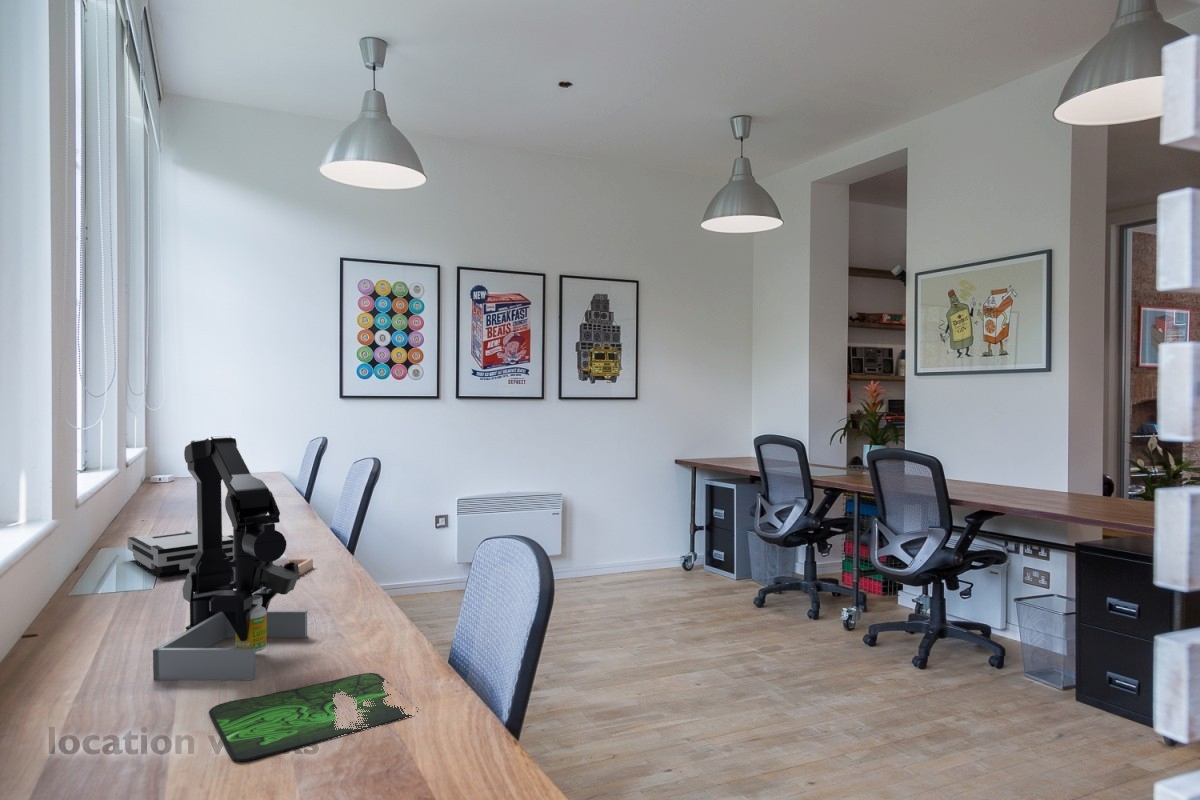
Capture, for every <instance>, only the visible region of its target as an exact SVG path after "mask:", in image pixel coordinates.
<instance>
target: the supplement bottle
mask: <svg viewBox="0 0 1200 800" xmlns="http://www.w3.org/2000/svg"><path fill="white" fill-rule="evenodd" d="M252 604H258V605H257V606H256V608H255V609H254V610H253V611H252V612H251V613H250V622H249V631H248V637H247V640H246V641H241V640H240V639H239V637H238V636H237V634H236V637H235V648H255V653H257V652H260V651H263V650H264V649H266V647H267V646H268V643H267V642H268V638H267V611H268V610H267V611H266V609H265V608H264V607H262V606H261V605H262V596H260V595H253V602H252Z"/></svg>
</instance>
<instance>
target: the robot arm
mask: <svg viewBox="0 0 1200 800" xmlns="http://www.w3.org/2000/svg"><path fill="white" fill-rule="evenodd" d="M183 454H184V456H183V457H184V460H185V463H186V464H187V471H188V472H189V473H190V474H191V476H192V478H193V479H194V480H195V482H196V512H197V513H196V514H197V529H198V551H197V553H196V554H195V556H194V557H193V559H192V561H191V562H190V568H189V569H188V571H189V572H188V573H187V575H186V578H185V581H184V583H183V586H182V596H183V599H184V600H185V601H186V602H189V625H187V626H185V631H187V630H189V629H191V628H192V627H194V626H196V625H198V624H199V623H201V622H203V621H205V620H206V619H208V618H210V617H212V616H214V615H215V614H217V613H219V612H223V613H224V615H225V616H226V618H227V619H228V620H229V622H230V624H231V625H232V627H233V629H234V630H235V632H236V634H237V636H238V637H239V639H240V640H241V641H246V640H247V637H248V631H249V622H250V613H251V612H252V611H253V610H254V609H255V608H256V606H257V605H258V604H252V602H253V595H260V596H262V605H261V606H262V607H264V608H265V609H266V611H269V610H268V609H269V606H270V604H271V602H272V600H273V599H274V598H275V597H276V596H277V595H279V594H280V595H288V593H289V592H291V591H293V590H295V586H296V584H297V581H298V580H300V579H301V575H299V574H300V572H299V568H298V563H295V562H292V561H291V562H289V563H287V564H286V565H285V566H284V567H282V565H280V566H277V565H273V561H275V560H277V559H279V558H280V557H281V556H282V555H283V554H284V553H285V552H286V549H287V540H286V537H285V536H284V535H283V533H282V532H280V531H278V530H276V524H278V523H280V515H281V512H280V508H279V507H278V504H277V502H276V499H275V496H274V495H273V492H272V491H271V490H270V488H269V487H268V486H267V485H266V483H265V482H264V481H263V480H262V479H260V478H257V477H256V476H255V477H254V476H253V475H252V473H251V472H250V470H249V467H248V466H247V464H246V463H245V461H244V459H243V456H242V455H241V452H240V451H239V449H238V445H237V439H236V438H235V436H231V435H225V436H224V435H223V436H210V437H208V438H205V439H200V440H199V439H196V440H191V441H190V442H189V443H188V444H187V445H186V446H185V447H184V452H183ZM222 481H223V483H224V485H225V488H226V490H227V492H226V496H225V501H224V502H225V503H224V506H225V507H224V508H225V512H226V513H227V516H228V518H229V521H230V522H231V526H232V528H233V530H232V536H233V554H234V555H233V560H231V559H230V558H228V556H227V555H226V554H225V552H224V551H223V548H222V536H223V517H222V515H223V510H222V509H223V508H222V507H223V506H222V505H223V504H222Z"/></svg>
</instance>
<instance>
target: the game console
mask: <svg viewBox="0 0 1200 800" xmlns="http://www.w3.org/2000/svg"><path fill="white" fill-rule="evenodd" d="M126 541H127V550H129V551H131V552H132V553H133V554H132V556H133V559H134V560H135V563H136V562H137V563H139V564H141V565H142V566H143V567H142V566H141V565H140V566H141V567H142V568H144V567H145V568H146V570H147V569H148V570H147V571H149V570H150V571H151V572H150V571H149V572H150V573H152V572H153V573H154V574H153V573H152V574H153V575H155V574H156V575H155V576H157V577H158V578H164V577H169V576H170V577H171V576H177V575H183V574H185V570H189V568H190V562H191V561H192V559H193V557H194V556H195V554H196V553H197V551H198V528H195V529H194V528H193V529H185V532H181V533H172V534H166V535H157V536H150V535H148V534H145V535H137V536H130V537H127V540H126ZM222 548H223V551H224V552H225V554H226V555H227V556H228V558H230V559H231V560H233V555H234V554H233V534H231V535H230V534H229V535H222ZM137 563H136V564H137ZM139 564H138V565H139ZM145 568H144V569H145Z"/></svg>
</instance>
